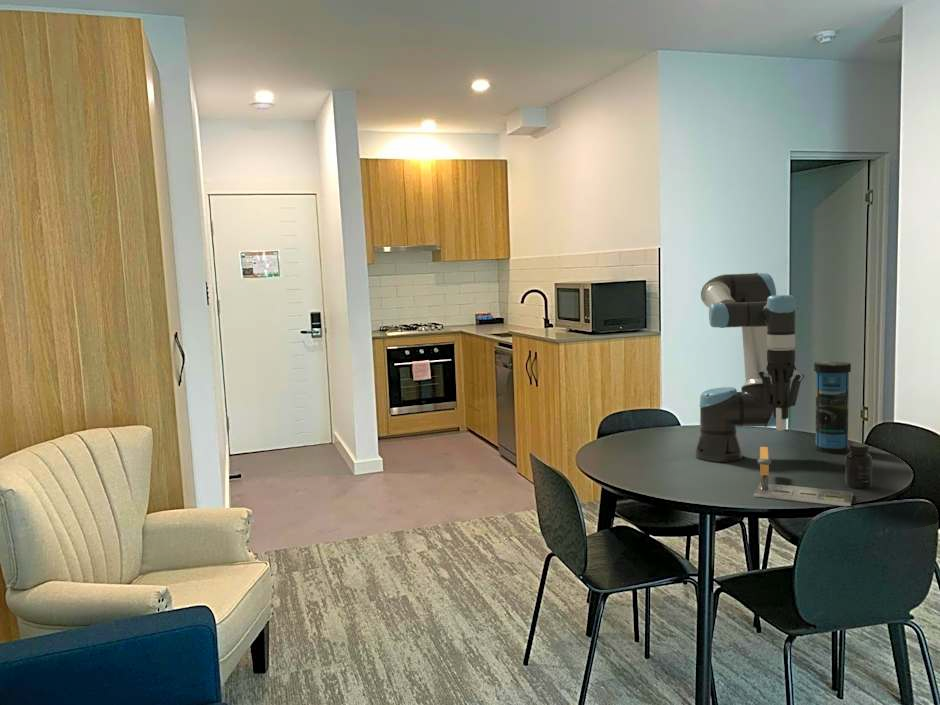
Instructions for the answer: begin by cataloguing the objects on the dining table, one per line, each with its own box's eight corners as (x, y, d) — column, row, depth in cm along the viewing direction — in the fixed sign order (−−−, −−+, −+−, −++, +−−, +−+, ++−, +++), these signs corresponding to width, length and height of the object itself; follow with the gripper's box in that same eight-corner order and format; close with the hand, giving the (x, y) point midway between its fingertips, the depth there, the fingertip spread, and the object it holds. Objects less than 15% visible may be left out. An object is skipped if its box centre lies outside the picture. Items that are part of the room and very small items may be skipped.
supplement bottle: (840, 483, 214) (840, 442, 213) (862, 481, 215) (863, 441, 214) (854, 490, 207) (854, 448, 206) (877, 488, 208) (878, 446, 207)
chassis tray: (753, 496, 205) (753, 478, 205) (760, 486, 215) (760, 469, 214) (850, 506, 193) (850, 488, 193) (852, 495, 203) (852, 477, 202)
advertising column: (839, 445, 259) (839, 360, 256) (856, 453, 248) (857, 364, 245) (807, 446, 259) (807, 362, 256) (823, 454, 247) (824, 366, 244)
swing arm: (771, 475, 206) (771, 462, 206) (757, 474, 207) (757, 461, 207) (770, 456, 226) (770, 444, 226) (757, 456, 228) (757, 444, 227)
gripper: (809, 348, 209) (809, 430, 211) (767, 346, 219) (767, 424, 221) (795, 351, 204) (795, 434, 206) (753, 348, 215) (753, 428, 217)
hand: (780, 429), depth 214 cm, fingers closed
